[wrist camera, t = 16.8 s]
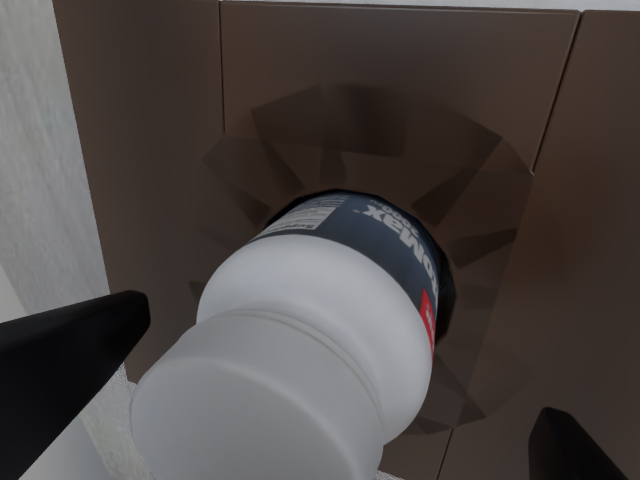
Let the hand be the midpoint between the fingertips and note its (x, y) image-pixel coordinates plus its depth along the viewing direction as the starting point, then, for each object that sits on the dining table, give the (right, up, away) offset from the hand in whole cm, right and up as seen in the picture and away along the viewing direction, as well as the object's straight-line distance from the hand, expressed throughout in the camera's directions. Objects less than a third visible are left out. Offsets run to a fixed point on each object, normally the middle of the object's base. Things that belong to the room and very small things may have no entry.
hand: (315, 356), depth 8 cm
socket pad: (+2, +2, +5) cm, 6 cm away
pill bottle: (+2, +2, +5) cm, 6 cm away
